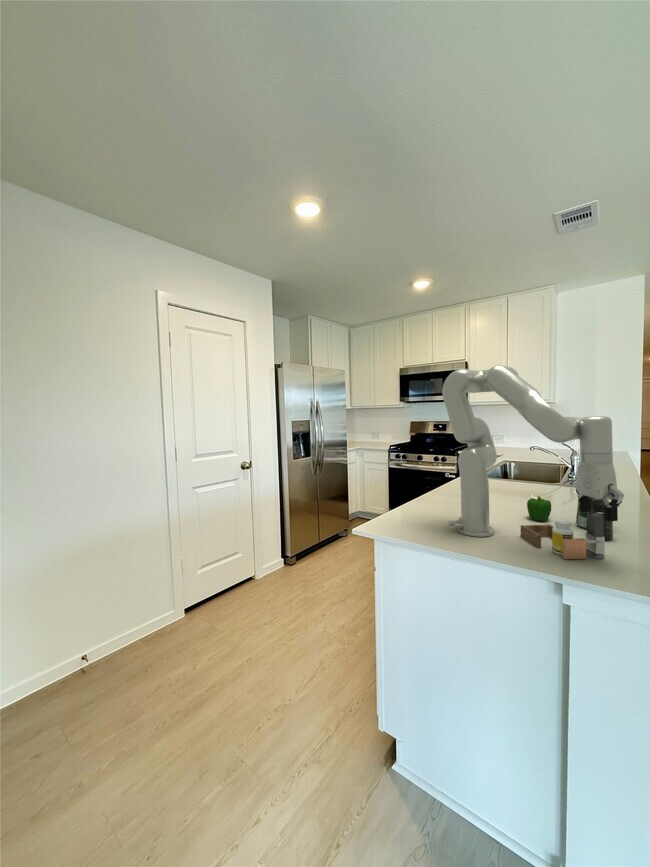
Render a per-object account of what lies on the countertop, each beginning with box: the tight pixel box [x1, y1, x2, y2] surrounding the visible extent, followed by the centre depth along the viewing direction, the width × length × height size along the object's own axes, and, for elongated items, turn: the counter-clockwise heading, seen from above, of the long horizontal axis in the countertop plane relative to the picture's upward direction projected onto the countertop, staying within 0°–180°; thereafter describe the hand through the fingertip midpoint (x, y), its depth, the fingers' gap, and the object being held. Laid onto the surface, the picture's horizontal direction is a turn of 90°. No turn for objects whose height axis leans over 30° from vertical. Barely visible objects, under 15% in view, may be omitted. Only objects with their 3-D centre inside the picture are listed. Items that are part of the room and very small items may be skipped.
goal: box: [520, 524, 555, 548], centre depth 116 cm, size 10×10×4 cm
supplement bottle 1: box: [551, 519, 574, 556], centre depth 106 cm, size 5×5×10 cm
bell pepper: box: [526, 495, 552, 522], centre depth 138 cm, size 8×8×10 cm
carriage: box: [562, 513, 606, 560], centre depth 103 cm, size 12×4×12 cm, turn 89°
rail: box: [586, 549, 605, 560], centre depth 110 cm, size 2×18×1 cm, turn 179°
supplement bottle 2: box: [587, 501, 614, 541], centre depth 117 cm, size 7×7×12 cm
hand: (597, 516), depth 102 cm, fingers open, 9 cm apart
